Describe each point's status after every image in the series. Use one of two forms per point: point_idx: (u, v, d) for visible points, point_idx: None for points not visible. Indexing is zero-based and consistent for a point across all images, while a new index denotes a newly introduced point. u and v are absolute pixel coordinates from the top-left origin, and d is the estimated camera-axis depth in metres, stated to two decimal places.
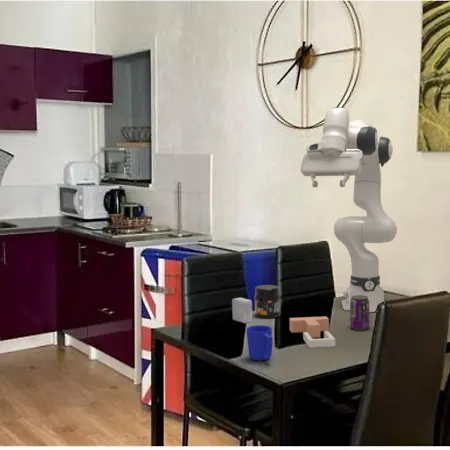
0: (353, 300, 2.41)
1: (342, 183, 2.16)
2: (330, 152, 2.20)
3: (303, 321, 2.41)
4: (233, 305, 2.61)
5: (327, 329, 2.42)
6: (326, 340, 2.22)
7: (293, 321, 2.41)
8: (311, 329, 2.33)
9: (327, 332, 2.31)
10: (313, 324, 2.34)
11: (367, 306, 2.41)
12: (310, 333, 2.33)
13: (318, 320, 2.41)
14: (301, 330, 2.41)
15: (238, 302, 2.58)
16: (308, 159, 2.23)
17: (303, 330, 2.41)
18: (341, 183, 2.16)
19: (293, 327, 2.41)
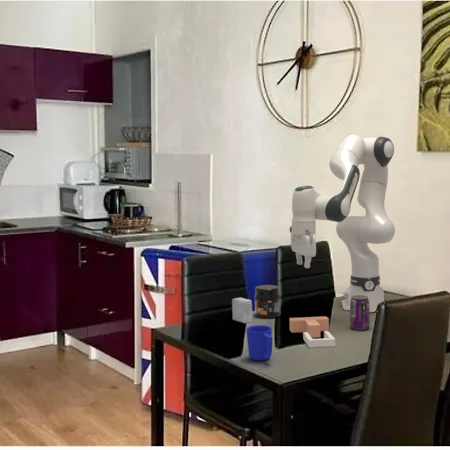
0: (353, 300, 2.41)
1: (305, 266, 2.41)
2: (295, 236, 2.44)
3: (303, 321, 2.41)
4: (233, 305, 2.61)
5: (327, 329, 2.42)
6: (326, 340, 2.22)
7: (293, 321, 2.41)
8: (311, 329, 2.33)
9: (327, 332, 2.31)
10: (313, 324, 2.34)
11: (367, 306, 2.41)
12: (310, 333, 2.33)
13: (318, 320, 2.41)
14: (301, 330, 2.41)
15: (238, 302, 2.58)
16: (293, 239, 2.52)
17: (303, 330, 2.41)
18: (304, 266, 2.41)
19: (293, 327, 2.41)
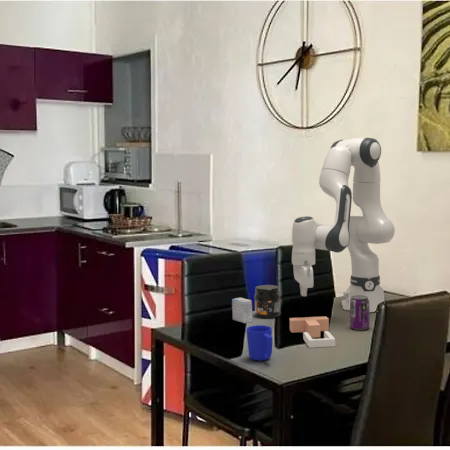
0: (353, 300, 2.41)
1: (301, 294, 2.48)
2: (295, 266, 2.48)
3: (303, 321, 2.41)
4: (233, 305, 2.61)
5: (327, 329, 2.42)
6: (326, 340, 2.22)
7: (293, 321, 2.41)
8: (311, 329, 2.33)
9: (327, 332, 2.31)
10: (313, 324, 2.34)
11: (367, 306, 2.41)
12: (310, 333, 2.33)
13: (318, 320, 2.41)
14: (301, 330, 2.41)
15: (238, 302, 2.58)
16: (295, 268, 2.56)
17: (303, 330, 2.41)
18: (301, 294, 2.49)
19: (293, 327, 2.41)
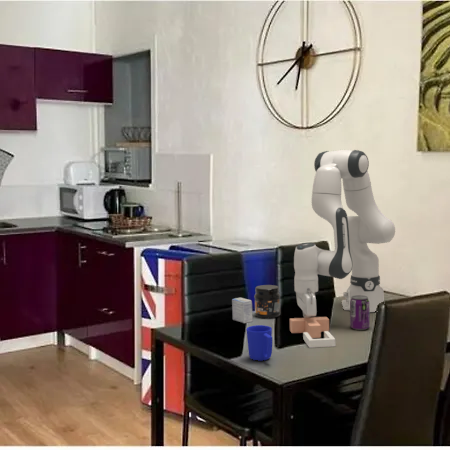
0: (353, 300, 2.41)
1: None
2: (298, 293, 2.45)
3: (303, 321, 2.40)
4: (233, 305, 2.61)
5: (327, 329, 2.41)
6: (326, 340, 2.22)
7: (293, 321, 2.40)
8: (311, 330, 2.33)
9: (327, 332, 2.31)
10: (313, 324, 2.34)
11: (367, 306, 2.41)
12: (310, 333, 2.33)
13: (318, 320, 2.41)
14: (301, 330, 2.41)
15: (238, 302, 2.58)
16: (298, 294, 2.53)
17: (303, 330, 2.41)
18: None
19: (293, 327, 2.40)
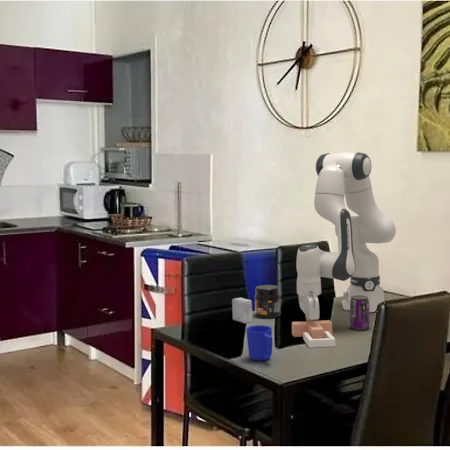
0: (353, 300, 2.41)
1: None
2: (300, 296, 2.39)
3: (306, 325, 2.35)
4: (233, 305, 2.61)
5: (330, 333, 2.36)
6: (326, 340, 2.22)
7: (295, 325, 2.35)
8: (314, 334, 2.28)
9: (327, 332, 2.31)
10: (316, 328, 2.29)
11: (367, 306, 2.41)
12: (313, 337, 2.28)
13: (321, 324, 2.36)
14: None
15: (238, 302, 2.58)
16: (300, 296, 2.47)
17: None
18: None
19: (295, 331, 2.35)
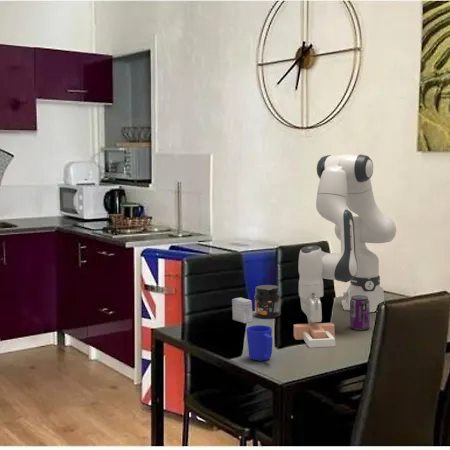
0: (353, 300, 2.41)
1: None
2: (302, 298, 2.36)
3: (308, 328, 2.32)
4: (233, 305, 2.61)
5: (333, 336, 2.33)
6: (326, 340, 2.22)
7: (297, 328, 2.31)
8: (316, 336, 2.24)
9: (327, 332, 2.31)
10: (318, 331, 2.25)
11: (367, 306, 2.41)
12: None
13: (323, 327, 2.32)
14: None
15: (238, 302, 2.58)
16: (302, 298, 2.44)
17: None
18: None
19: (297, 334, 2.32)
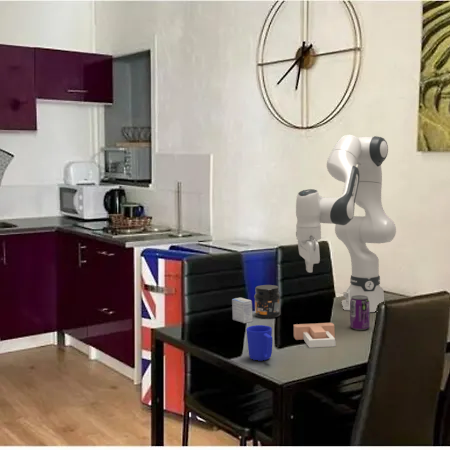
0: (353, 300, 2.41)
1: (307, 270, 2.38)
2: (300, 242, 2.38)
3: (308, 328, 2.32)
4: (233, 305, 2.61)
5: (333, 336, 2.33)
6: (326, 340, 2.22)
7: (297, 328, 2.31)
8: (316, 336, 2.24)
9: (327, 332, 2.31)
10: (318, 331, 2.25)
11: (367, 306, 2.41)
12: None
13: (323, 327, 2.32)
14: None
15: (238, 302, 2.58)
16: (299, 243, 2.46)
17: None
18: (307, 270, 2.39)
19: (297, 334, 2.32)
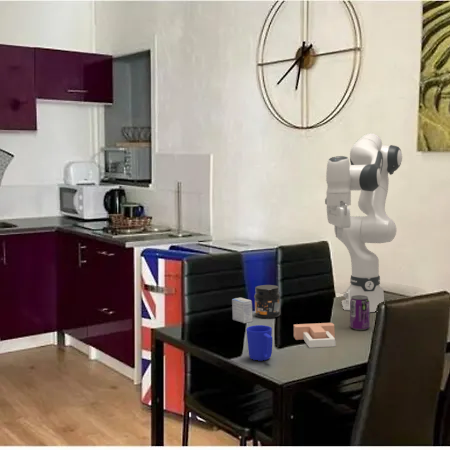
0: (353, 300, 2.41)
1: (337, 236, 2.41)
2: (330, 208, 2.40)
3: (308, 328, 2.32)
4: (233, 305, 2.61)
5: (333, 336, 2.33)
6: (326, 340, 2.22)
7: (297, 328, 2.31)
8: (316, 336, 2.24)
9: (327, 332, 2.31)
10: (318, 331, 2.25)
11: (367, 306, 2.41)
12: None
13: (323, 327, 2.32)
14: None
15: (238, 302, 2.58)
16: (329, 211, 2.48)
17: None
18: (337, 236, 2.41)
19: (297, 334, 2.32)
